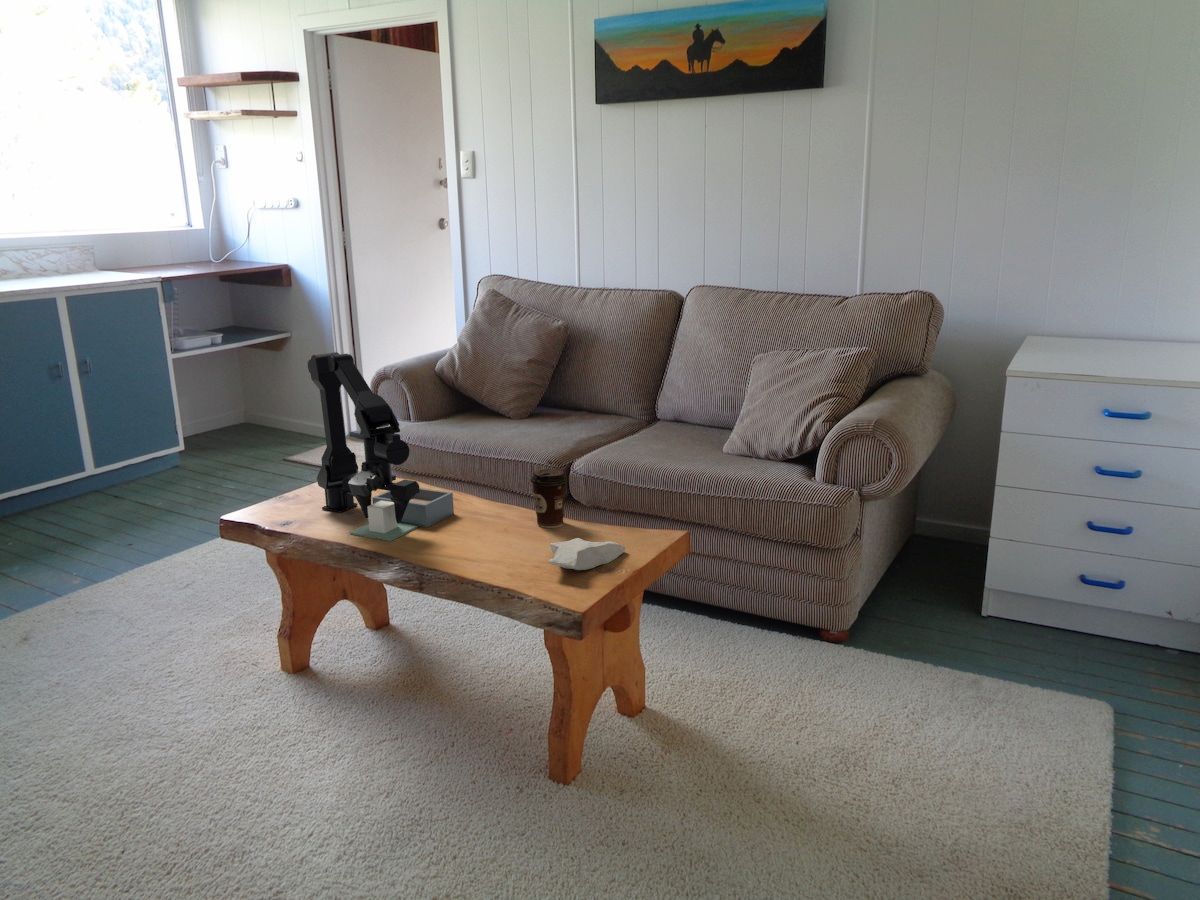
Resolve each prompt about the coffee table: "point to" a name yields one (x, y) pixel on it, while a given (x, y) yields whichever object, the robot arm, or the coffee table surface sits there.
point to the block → (382, 517)
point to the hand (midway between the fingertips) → (383, 520)
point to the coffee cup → (549, 497)
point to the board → (387, 536)
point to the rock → (584, 553)
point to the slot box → (424, 506)
